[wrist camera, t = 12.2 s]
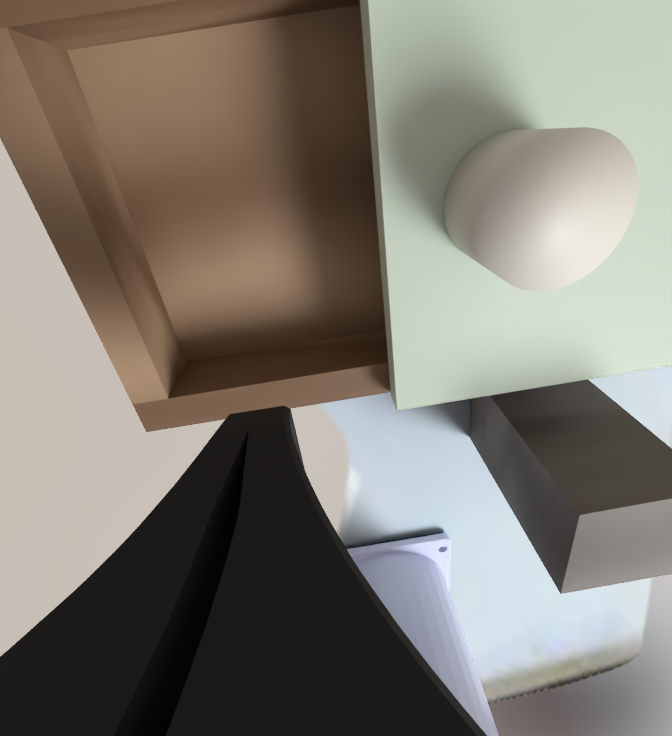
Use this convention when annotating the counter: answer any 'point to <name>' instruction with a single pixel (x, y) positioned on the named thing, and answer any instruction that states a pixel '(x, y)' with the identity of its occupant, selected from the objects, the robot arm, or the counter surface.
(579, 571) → the block
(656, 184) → the lid
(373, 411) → the counter surface
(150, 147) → the brown box
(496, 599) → the counter surface
